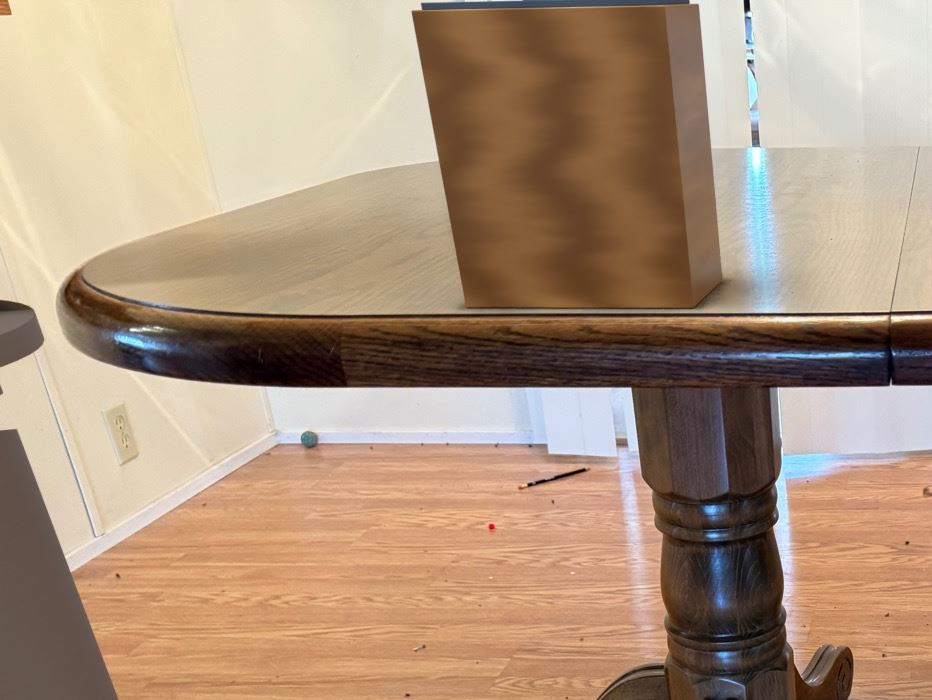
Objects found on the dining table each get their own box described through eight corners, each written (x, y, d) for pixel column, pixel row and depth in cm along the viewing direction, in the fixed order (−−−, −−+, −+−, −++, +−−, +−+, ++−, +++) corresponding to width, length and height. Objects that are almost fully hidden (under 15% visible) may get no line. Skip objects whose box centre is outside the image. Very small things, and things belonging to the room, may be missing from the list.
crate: (465, 307, 85) (410, 10, 76) (513, 280, 93) (468, 8, 84) (693, 308, 83) (664, 5, 75) (722, 280, 91) (699, 3, 82)
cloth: (421, 10, 77) (420, 2, 76) (472, 8, 83) (471, 1, 83) (658, 5, 75) (657, -3, 75) (690, 3, 82) (689, -3, 82)
